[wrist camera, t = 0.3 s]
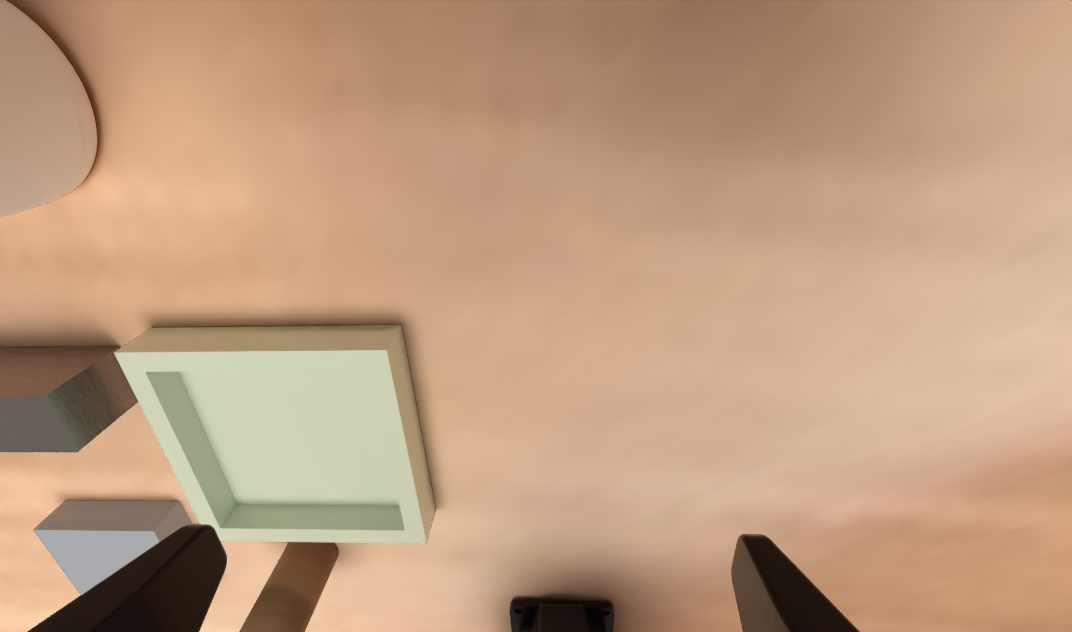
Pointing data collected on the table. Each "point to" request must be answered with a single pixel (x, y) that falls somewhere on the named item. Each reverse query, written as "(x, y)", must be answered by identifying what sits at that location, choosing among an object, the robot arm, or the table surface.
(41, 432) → the dark gray block
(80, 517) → the board
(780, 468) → the table surface
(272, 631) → the dowel
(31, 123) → the pill bottle
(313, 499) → the tray
